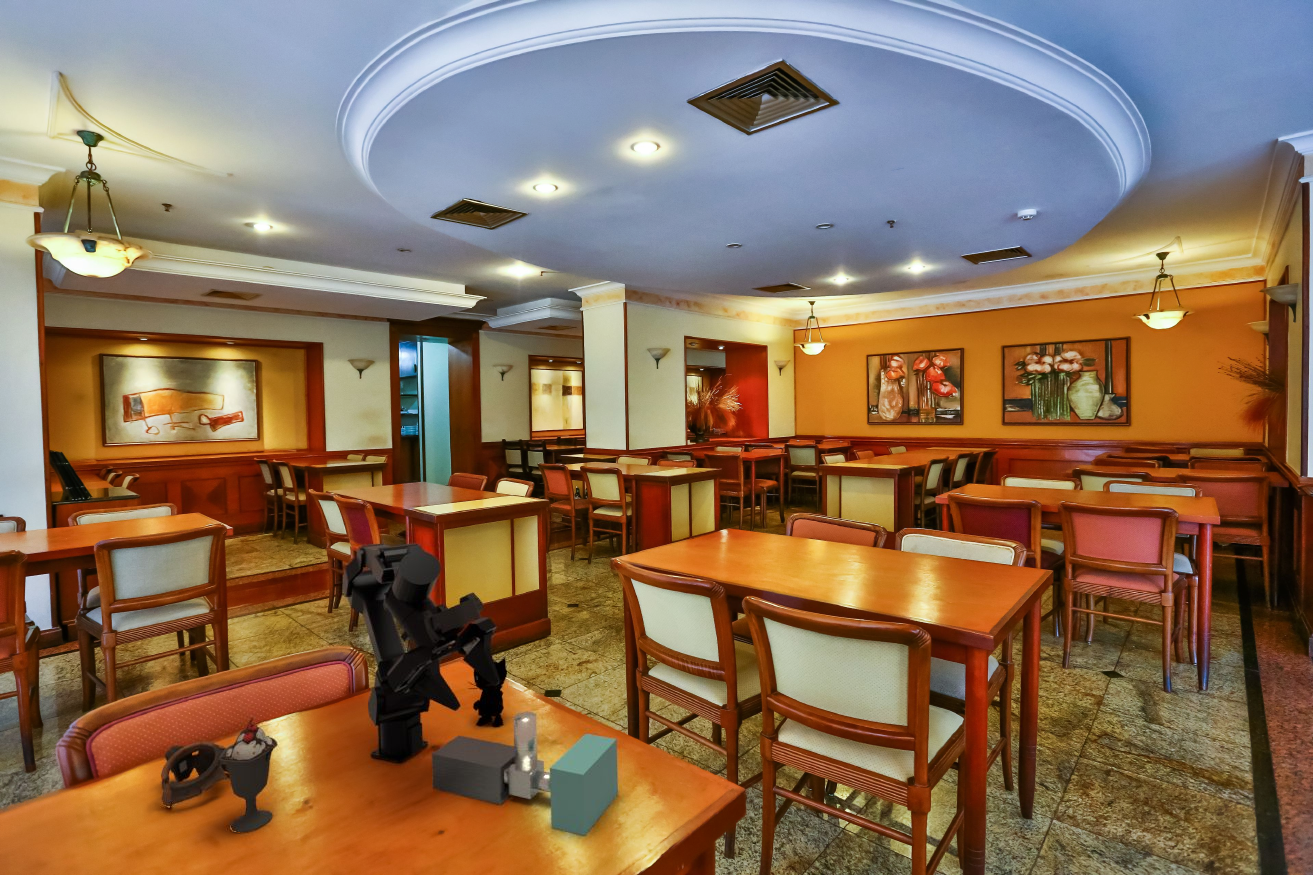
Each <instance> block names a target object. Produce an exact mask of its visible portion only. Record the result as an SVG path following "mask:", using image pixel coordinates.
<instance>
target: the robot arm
mask: <svg viewBox="0 0 1313 875" xmlns="http://www.w3.org/2000/svg"><path fill="white" fill-rule="evenodd" d="M364 568H367V569H364ZM441 569H442V568H441V563H440V561H439V559H438V558H437V557H436V556H434V554H432V553H430V552H427V551H425V550H424V549H423V546H422V544H419V543H418V542H416V543H415V542H414V543H406V544H398V545H389V544H388V543H383V542H382V543H381V542H380V543H373V544H365V545H364V544H363V545H361V546H360V547H357V551H356V556H355V557H354V558H353V559H352V560H351V561H350V562H349V563H348V564H346V566H345V567H344V570H343V571H344V572H343V577H342V593H343V598H347V601H348V603H349V606H350V608H351V610H353V611H355V612H358V613H359V614H361V615H362V617H363V620H364V623H365V624H364V625H365V626H366V629H367V634H368V636H369V640H370V644H371V648H372V651H373V654H374V659H375V661H376V665H377V669H376V672H375V676H374V684H373V686H372V688H371V692H370V696H369V698H368V701H367V702H368V703H367V708H368V716H369V718H370V720H371V722H372V724H374V727H376V726H377V740H378V742H377V744H378V746H377V747H378V748H376V750H374V751H372V752H371V753H370V755H371V757H372V758H377V759H380V760H384V761H389V762H395V763H399V764H401V763H404V762H405V761H407V760H408V759H410V758H411V757H413V756H414V755H415V754H416V753H418V752H420V751H422V750H424V749H425V748H426V747H428V746H429V742H428V741H427V740H424V738H423V737H424V736H423V723H422V720H421V719H422V718H421V714H422V713H427V712H430V711H429V709H430V706H431V705H430V704H431V701H433V702H436V703H437V704H439V705H441V706H443V707H445V708H448V709H449V710H452V711H455V712H457V711H458V710H459V708H461V703H460V702H459V699H458V698H457V696H456V695H455V693H454V691H453V690H452V689H451V687H450V686H449V684H448V683H447V680H445V678H444V676H443V674H441V668H440V660H442V659H444V658H446V657H448V656H450V655H452V654H454V653H456V652H458V654H460V655H462V656H463V655H464V657H463V658H462V661H464V662H465V663H466V664H467V665H468V666H470V667H471V668H472V669H473V671H474V670H475V671H477V672H478V673H479V674H480V675H481V676H482V677H484V678H485V679H486V680H487V681H488V682H490V683H491V684H493V685H494V686H496V685H497V684H498V683H499V682H500V679H499V676H498V673H497V670H496V667H495V664H494V661H495V660H494V658H493V654H492V650H491V644H492V643H491V642H492V638H493V637H494V636H495V632H494V631H495V630H496V629H497V625H496V624H495V622H494V621H493V620H492V619H491V618H490V617H484V616H483V617H482V616H481V613H480V612H481V611H483V609H484V606H483V601H482V600H481V599H480V598H479V596H478V595H476V593H474V592H471V593H468V594H465V595H464V596H462V597H460V598H459V603H458V604H456V605H453V606H451V607H448V606H447V605H446V604H443V603H441V604H439V605H436V603H435V602H434V601H433V599H432V598H431V594H432V592H433V589H434V587H435V585H436V583H437V580H438V578H439V576H440V573H441ZM395 620H396V621H397V623H398V624H399V625H400V627H401V628H402V630H403V633H402V634H401V636H400V634H399V631H398V628H397V625H396V622H395ZM471 621H472V622H471ZM465 625H467V626H465ZM459 633H460V634H459ZM458 634H459V635H458ZM401 639H402V640H401ZM409 640H411V642H412V644H414V646H415V648H412V649H411V650H408V651H405V649H404V646H403V643H402V641H403V642H406V641H409Z"/></svg>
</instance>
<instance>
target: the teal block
mask: <svg viewBox="0 0 1313 875" xmlns="http://www.w3.org/2000/svg"><path fill="white" fill-rule="evenodd" d="M617 744H618V739H617V738H612V737H607V736H602V735H601V736H600V735H597V734H595V735H594V734H589V733H585V734H584V735H583V736H581V738H580V739H579V740H577V741H576V742H575V744H574V745H572V746H571V747H570V748H569V749H568V750H567V751H566V752H565V753H563V755H561V757H560V758H559V759H557V761H555V762H554V763H553V764H552V765H551V766H550V767H549V773H550V792H549V794H550V821H551V822H550V823H551V824H550V825H551V826H550V827H551V828H552V829H555V830H559V831H564V832H568V833H572V834H575V835H579V836H583V837H585V836H587V834H588V833H589V831H590V830H591V828H593V826H594V825H596V822H597V821H598V820H599V819H600V817H601V816H602V815H603V814H604V813H605V811H606V810H607V808H608V807H609V806H610V805H611V804H612V802H613V801H615V799H616V797H617V796H618V795H619V783H618V782H619V776H618V775H619V774H618V745H617Z"/></svg>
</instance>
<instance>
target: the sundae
mask: <svg viewBox="0 0 1313 875" xmlns="http://www.w3.org/2000/svg"><path fill="white" fill-rule="evenodd" d="M253 721H254V717H252V716H251V717H250V720H249V722H248V723H247V726H246V727H245V728H244V729H242V731H241V732H240V733H239V734H238V735H237V737H236V740H235V742H234V743H232V744H231V745H229V746H228V747H225V748H226V749H225V750H224V751H223V752H222V753H221V755H220V757H219V760H220V761H224V762H226V765H227V768H228V771H229V773H228V775H229V781H230V786H231V789H232V793H233V794H234V795H235V796H237V797H238V798H240V799H243V800H244V801H245V812H244V814H243V815H241V816H239V817H237V818H238V819H237V818H236V819H234V821H233V822H231V823H230V826H231V828H232V830H233V831H236V832H240V833H239V834H242V833H241V832H246V833H250V832H253V830H254V831H257V830H258V829H261V828H263V827H264V826H266V825H267V824H268V823H269V822H270V821H271V819H273V816H274V815H273V813H272V812H271V811H270V810H266V809H265V810H264V809H260V810H259V809H258V806H257V796H258V795H259V794H260V793H261V792H262V791H263V790H264V789H265V787H266V786H267V784H268V779H269V774H270V764H271V758H272V752H273V751H274V749H275V748H277V747H278V742H277V740H276V739H275V738H273V737H271V736H269V735H266V733H265V731H264V730H263V728H261V727H259V726H258V724H256V723H253V724H252V722H253ZM260 827H261V828H260ZM249 831H250V832H249Z"/></svg>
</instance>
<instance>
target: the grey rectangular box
mask: <svg viewBox="0 0 1313 875" xmlns="http://www.w3.org/2000/svg"><path fill="white" fill-rule="evenodd" d="M431 762H432V763H431V764H432V768H431V769H432V789H433V790H436V791H441V792H444V793H449V794H454V795H458V796H462V797H466V798H470V799H475V800H478V801H483V802H486V803H492V804H495V805H500V806H501V805H502V804H503V803H505V801H506V800H508V799H509V798H510V797H511V796H512V795H511V794H509V784H506V783H504V770H505V769H506V768H507V767H509V766H510V765H511V764H515V754H514V745H510V744H505V743H499V742H494V741H490V740H489V741H488V740H483V739H480V738H479V739H478V738H473V737H469V736H464V735H457V736H456V737H454V738H453V739H452V740H450V741H449V742H447V743H446V744H444V745H442V746H441V747H440V748H438V749H437V750H435V751H434V752H433V753H431Z"/></svg>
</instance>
